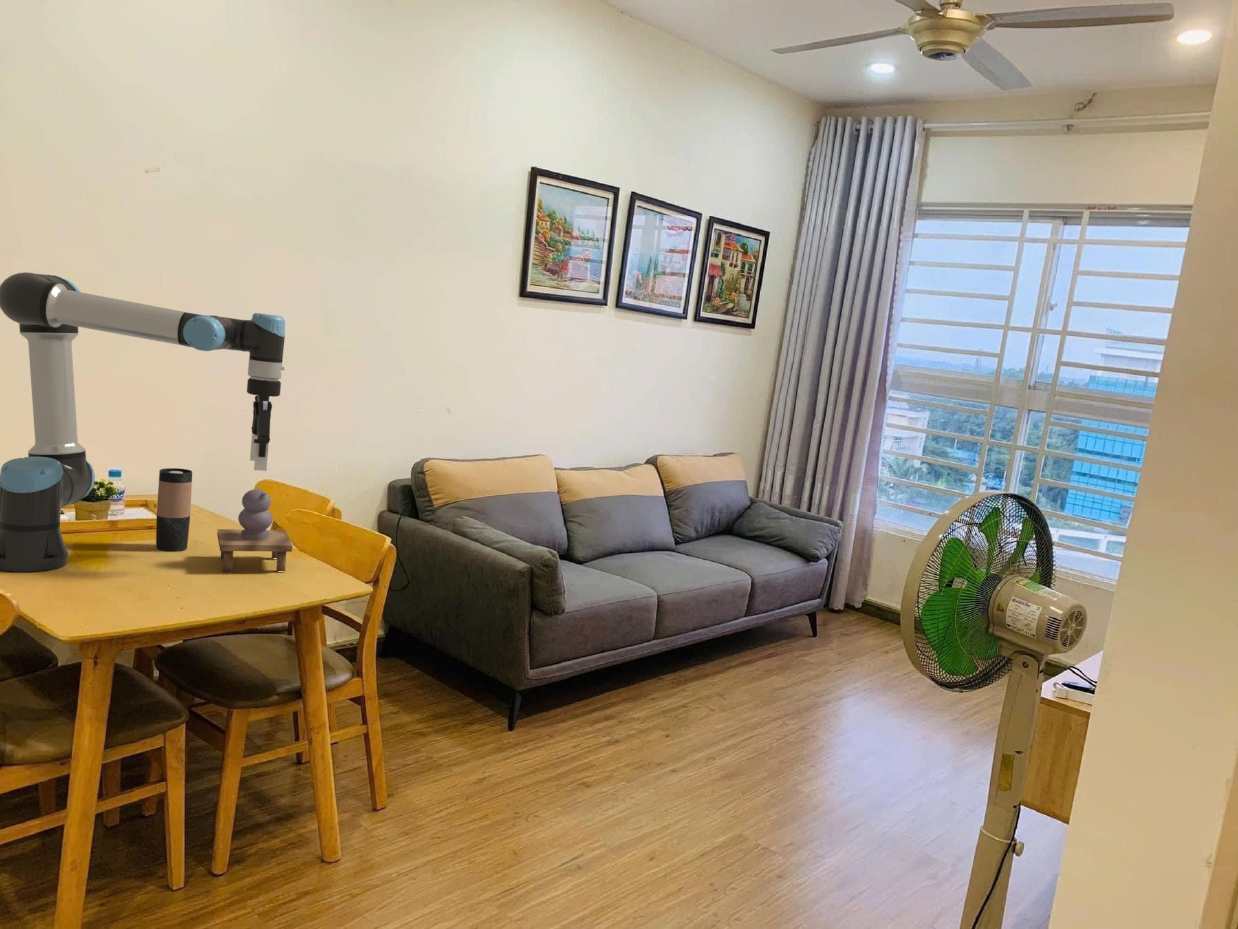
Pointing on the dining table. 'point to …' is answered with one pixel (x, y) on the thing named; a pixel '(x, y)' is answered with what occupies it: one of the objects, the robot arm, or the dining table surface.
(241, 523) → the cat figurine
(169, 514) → the travel mug
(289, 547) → the footstool
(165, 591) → the dining table surface
